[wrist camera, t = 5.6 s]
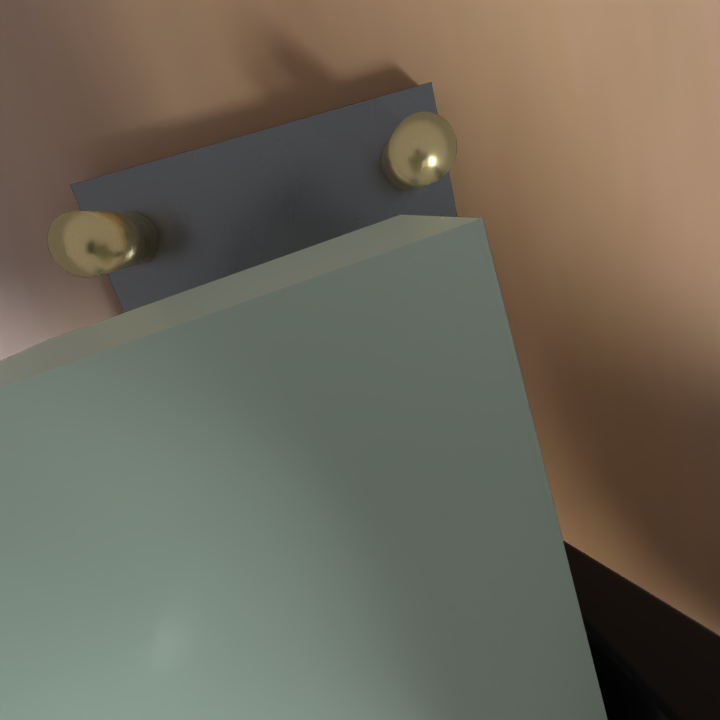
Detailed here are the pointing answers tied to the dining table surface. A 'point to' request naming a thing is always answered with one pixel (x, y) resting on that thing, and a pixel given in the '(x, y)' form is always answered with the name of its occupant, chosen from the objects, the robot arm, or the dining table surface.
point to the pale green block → (289, 502)
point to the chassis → (258, 197)
